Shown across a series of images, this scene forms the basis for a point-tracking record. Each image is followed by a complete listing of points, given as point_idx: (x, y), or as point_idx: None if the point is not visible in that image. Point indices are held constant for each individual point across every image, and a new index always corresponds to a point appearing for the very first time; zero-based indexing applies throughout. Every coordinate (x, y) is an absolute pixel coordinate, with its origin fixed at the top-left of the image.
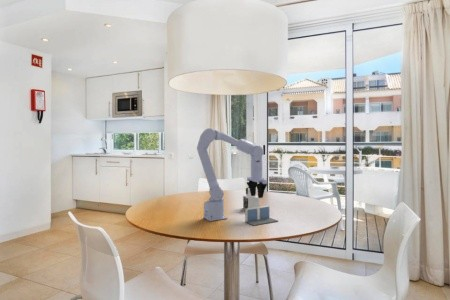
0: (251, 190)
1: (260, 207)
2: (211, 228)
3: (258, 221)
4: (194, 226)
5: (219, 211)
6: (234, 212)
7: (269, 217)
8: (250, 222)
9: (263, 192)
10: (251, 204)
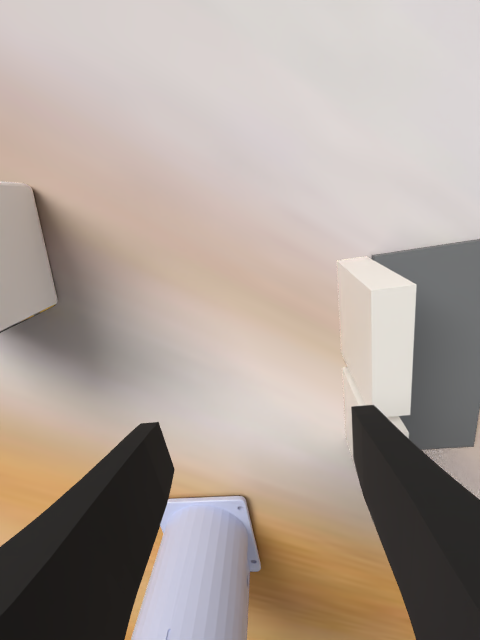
0: (135, 567)
1: (408, 401)
2: (376, 590)
3: (419, 386)
4: (310, 619)
5: (245, 582)
6: (97, 407)
7: (368, 258)
8: (410, 437)
9: (442, 478)
10: (11, 286)
